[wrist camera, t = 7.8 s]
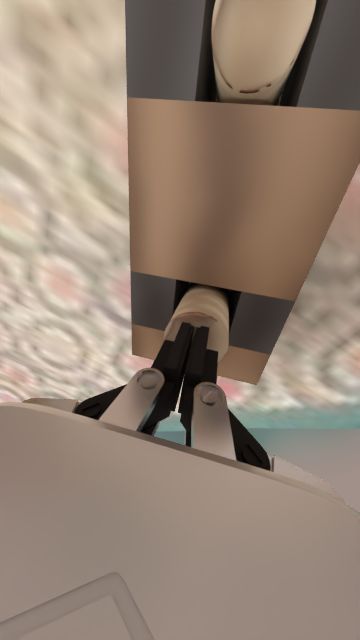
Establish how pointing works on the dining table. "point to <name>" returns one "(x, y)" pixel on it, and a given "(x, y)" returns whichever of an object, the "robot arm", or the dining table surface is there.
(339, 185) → the banded wooden block
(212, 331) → the beech peg
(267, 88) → the beech peg
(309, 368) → the dining table surface
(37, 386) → the dining table surface
